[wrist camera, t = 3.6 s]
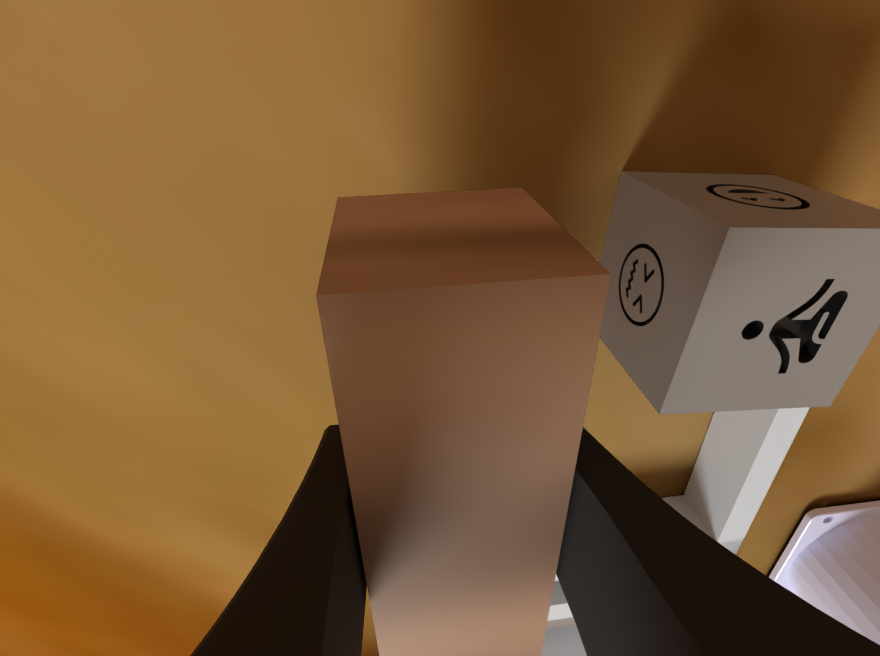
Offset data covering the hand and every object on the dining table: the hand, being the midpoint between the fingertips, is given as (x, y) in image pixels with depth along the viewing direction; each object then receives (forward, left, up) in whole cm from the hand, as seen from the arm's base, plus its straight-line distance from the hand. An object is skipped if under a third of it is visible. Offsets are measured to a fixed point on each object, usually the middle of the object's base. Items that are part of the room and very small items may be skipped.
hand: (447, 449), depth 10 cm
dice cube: (-8, -1, -7) cm, 11 cm away
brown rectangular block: (0, 0, -2) cm, 2 cm away
